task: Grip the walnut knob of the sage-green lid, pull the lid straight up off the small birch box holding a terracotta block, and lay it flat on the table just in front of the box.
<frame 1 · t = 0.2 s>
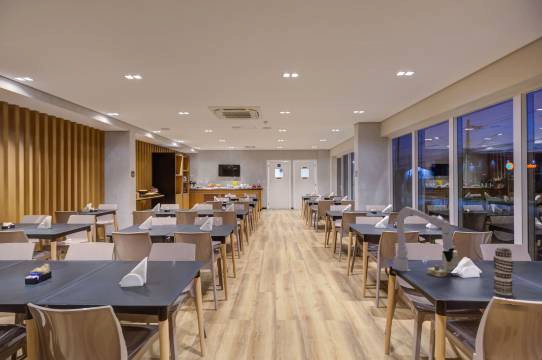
hand: (449, 260, 215), 10 cm above the table, tool pointing down, fingers open, 7 cm apart
lid: (436, 271, 216), point 2 cm above the table, touching box
decorative candle: (502, 293, 183), on the table
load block: (436, 274, 216), resting on box
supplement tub: (449, 272, 224), on the table
box: (436, 275, 216), on the table
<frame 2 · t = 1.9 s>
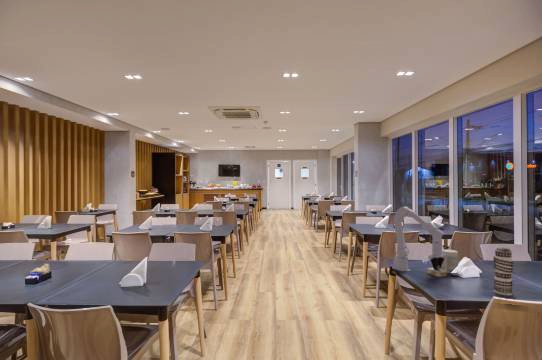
hand: (436, 268, 216), 4 cm above the table, tool pointing down, fingers closed on lid, 3 cm apart
lid: (436, 271, 216), point 2 cm above the table, touching box, gripper
everything else where it was.
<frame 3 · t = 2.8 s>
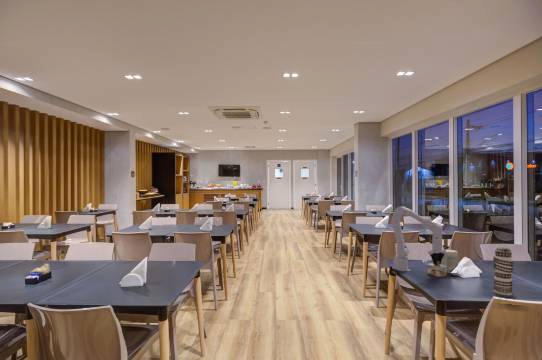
hand: (436, 264, 216), 7 cm above the table, tool pointing down, fingers closed on lid, 3 cm apart
lid: (436, 267, 216), point 5 cm above the table, touching gripper
everything else where it was.
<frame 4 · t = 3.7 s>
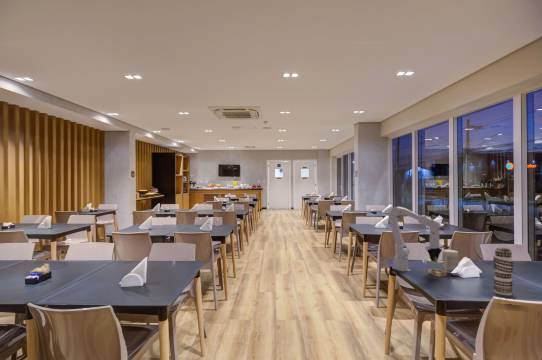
hand: (434, 259, 215), 10 cm above the table, tool pointing down, fingers closed on lid, 3 cm apart
lid: (434, 262, 215), point 9 cm above the table, touching gripper
everything else where it was.
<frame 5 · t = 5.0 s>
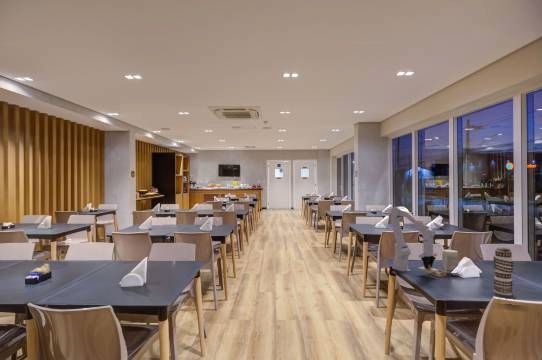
hand: (428, 267, 213), 6 cm above the table, tool pointing down, fingers closed on lid, 3 cm apart
lid: (428, 270, 212), point 4 cm above the table, touching gripper
everything else where it was.
when the fingers open (3 cm above the table, at t = 5.8 s): lid drops 2 cm, on the table.
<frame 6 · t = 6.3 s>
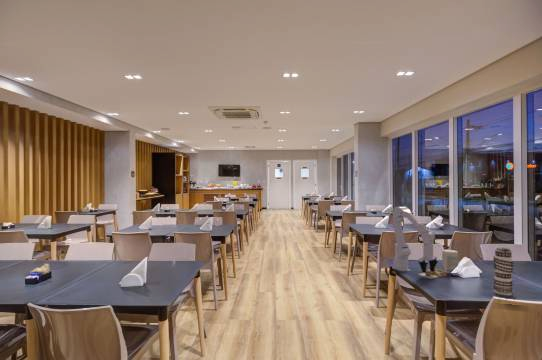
hand: (427, 271, 213), 3 cm above the table, tool pointing down, fingers open, 7 cm apart
lid: (427, 277, 212), on the table
everything else where it was.
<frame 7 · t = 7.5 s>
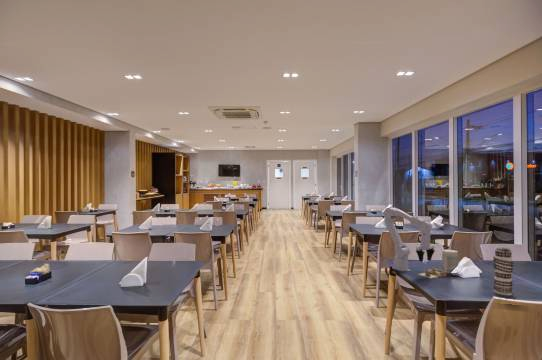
hand: (425, 260, 217), 9 cm above the table, tool pointing down, fingers open, 7 cm apart
nothing on the table moved.
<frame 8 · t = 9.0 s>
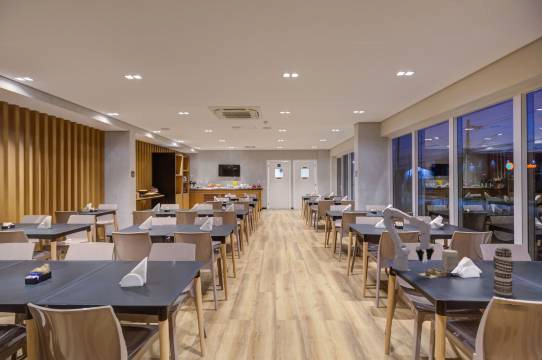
hand: (424, 260, 218), 9 cm above the table, tool pointing down, fingers open, 7 cm apart
nothing on the table moved.
at the end: lid 0.0 cm from the target spot, on the table; lid tilted 0°; the gripper is holding nothing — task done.
